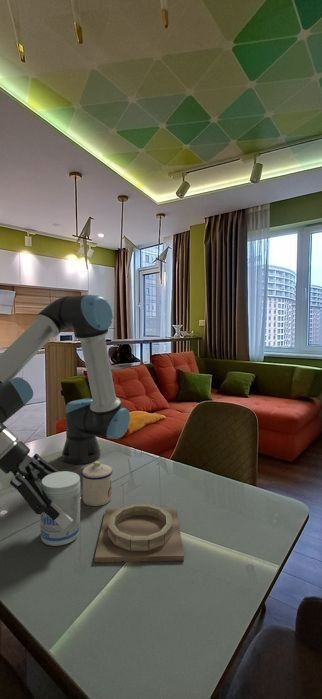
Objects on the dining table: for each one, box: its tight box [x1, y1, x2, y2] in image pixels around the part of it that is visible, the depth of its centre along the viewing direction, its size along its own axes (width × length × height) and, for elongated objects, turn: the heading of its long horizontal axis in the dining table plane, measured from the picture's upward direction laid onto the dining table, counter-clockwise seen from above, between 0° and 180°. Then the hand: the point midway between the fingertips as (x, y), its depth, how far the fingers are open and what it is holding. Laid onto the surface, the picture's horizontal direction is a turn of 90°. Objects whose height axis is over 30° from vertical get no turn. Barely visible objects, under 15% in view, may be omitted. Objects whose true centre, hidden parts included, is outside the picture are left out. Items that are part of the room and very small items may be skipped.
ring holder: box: [94, 502, 185, 563], centre depth 85 cm, size 20×20×4 cm
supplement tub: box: [39, 470, 81, 547], centre depth 84 cm, size 10×10×15 cm
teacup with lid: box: [81, 460, 113, 507], centre depth 103 cm, size 12×9×12 cm
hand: (73, 512), depth 84 cm, fingers closed on supplement tub, 9 cm apart
